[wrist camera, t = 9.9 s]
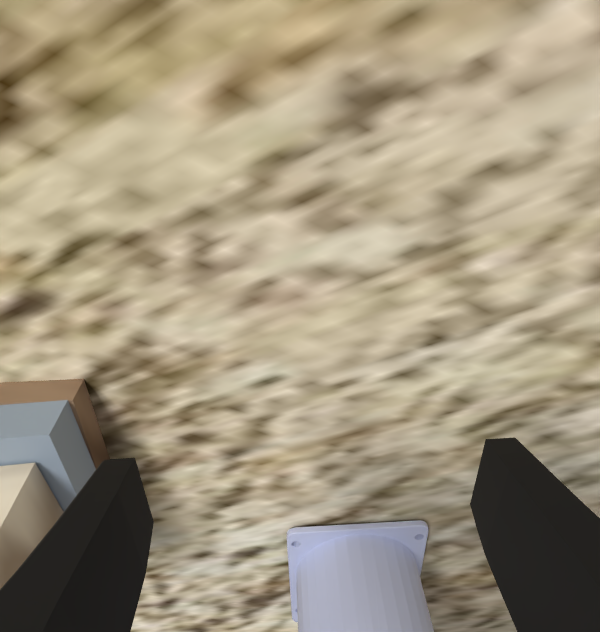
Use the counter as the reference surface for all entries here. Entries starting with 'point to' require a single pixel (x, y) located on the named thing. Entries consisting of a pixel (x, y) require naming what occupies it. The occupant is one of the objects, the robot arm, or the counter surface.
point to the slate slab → (47, 445)
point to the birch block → (23, 515)
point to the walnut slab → (59, 391)
